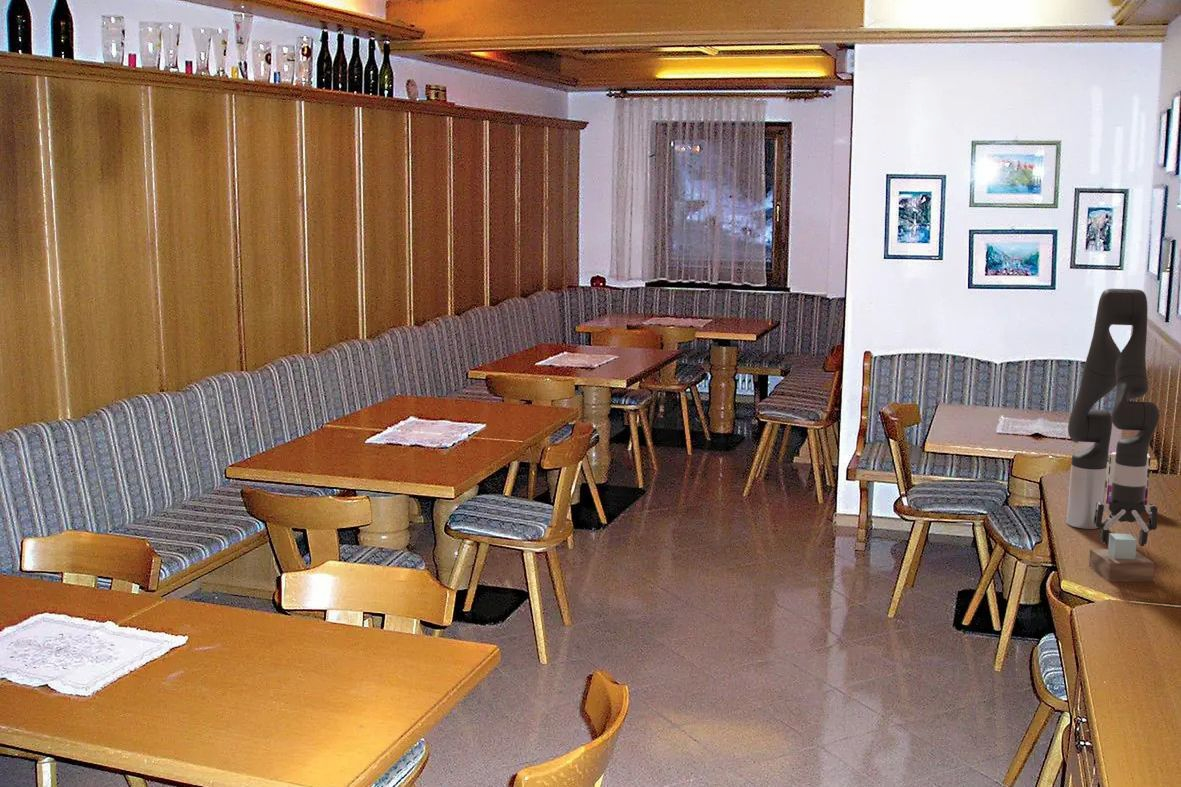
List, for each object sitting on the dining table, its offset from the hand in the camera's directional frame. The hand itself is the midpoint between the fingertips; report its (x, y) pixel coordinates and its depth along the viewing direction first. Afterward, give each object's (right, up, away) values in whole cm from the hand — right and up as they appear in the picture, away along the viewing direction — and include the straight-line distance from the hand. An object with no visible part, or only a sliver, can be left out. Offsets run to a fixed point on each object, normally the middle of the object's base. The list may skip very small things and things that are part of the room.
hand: (1123, 544), depth 298 cm
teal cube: (0, -3, +1) cm, 3 cm away
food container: (+33, +7, +78) cm, 85 cm away
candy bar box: (+27, +3, +60) cm, 66 cm away
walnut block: (0, -8, +2) cm, 8 cm away
